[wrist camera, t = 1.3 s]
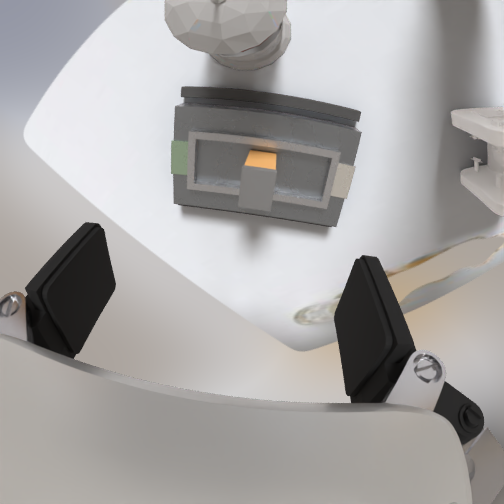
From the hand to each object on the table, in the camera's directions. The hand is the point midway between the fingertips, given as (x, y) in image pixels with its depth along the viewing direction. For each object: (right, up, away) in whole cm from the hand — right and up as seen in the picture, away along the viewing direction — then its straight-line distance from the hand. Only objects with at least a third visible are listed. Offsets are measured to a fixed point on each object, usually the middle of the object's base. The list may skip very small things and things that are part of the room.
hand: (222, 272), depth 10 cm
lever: (+2, +10, +20) cm, 22 cm away
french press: (+1, +25, +13) cm, 29 cm away
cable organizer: (+33, +16, +16) cm, 40 cm away
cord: (+3, +18, +18) cm, 25 cm away
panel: (+2, +12, +22) cm, 25 cm away
